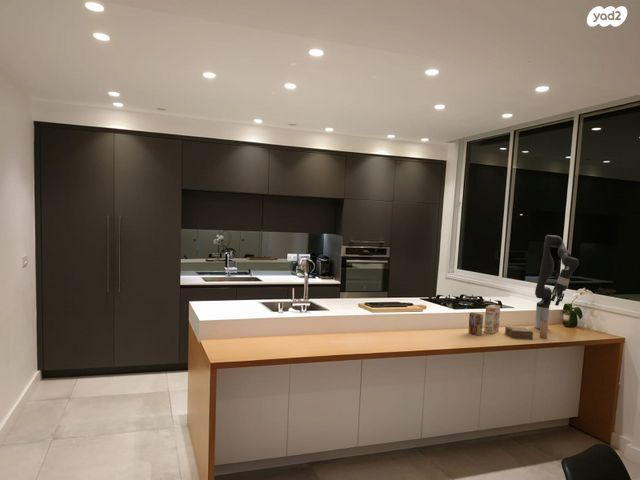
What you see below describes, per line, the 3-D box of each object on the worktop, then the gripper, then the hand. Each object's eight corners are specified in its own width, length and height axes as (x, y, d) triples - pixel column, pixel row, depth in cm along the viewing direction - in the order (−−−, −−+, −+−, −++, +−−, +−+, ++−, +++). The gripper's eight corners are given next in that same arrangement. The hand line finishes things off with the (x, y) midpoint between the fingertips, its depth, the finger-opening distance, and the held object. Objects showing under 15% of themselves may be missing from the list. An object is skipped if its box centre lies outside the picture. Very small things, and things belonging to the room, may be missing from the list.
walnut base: (505, 333, 333) (505, 326, 333) (523, 334, 333) (524, 327, 333) (512, 338, 319) (513, 330, 319) (532, 339, 319) (533, 331, 319)
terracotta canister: (538, 336, 328) (539, 319, 328) (545, 336, 328) (546, 319, 328) (541, 338, 323) (542, 320, 323) (548, 338, 323) (549, 321, 323)
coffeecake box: (493, 334, 328) (495, 308, 328) (483, 332, 332) (485, 306, 332) (499, 331, 340) (500, 305, 339) (489, 329, 344) (491, 304, 344)
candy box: (482, 335, 323) (483, 314, 323) (479, 335, 321) (480, 314, 320) (471, 332, 330) (472, 312, 330) (468, 333, 328) (469, 312, 327)
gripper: (553, 278, 332) (545, 298, 337) (560, 284, 319) (552, 305, 323) (563, 281, 332) (555, 301, 336) (571, 287, 318) (563, 308, 322)
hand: (554, 303), depth 329 cm, fingers open, 8 cm apart
